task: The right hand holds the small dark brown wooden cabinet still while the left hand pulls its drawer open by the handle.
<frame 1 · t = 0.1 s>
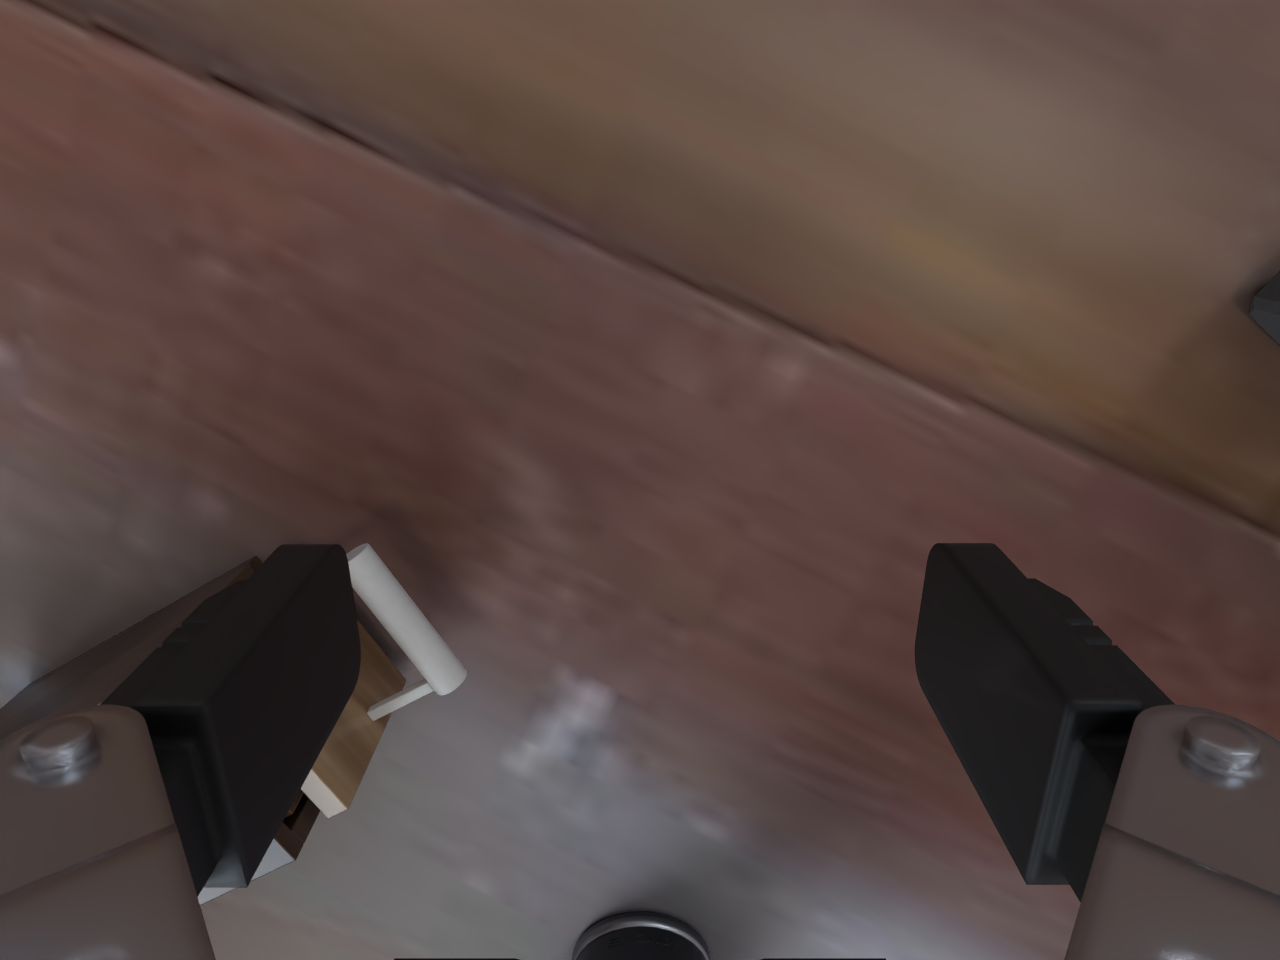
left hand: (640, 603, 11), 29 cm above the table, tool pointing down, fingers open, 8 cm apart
cabinet: (202, 691, 47), on the table
drawer: (242, 710, 40), point 6 cm above the table, slide at 1.8 cm
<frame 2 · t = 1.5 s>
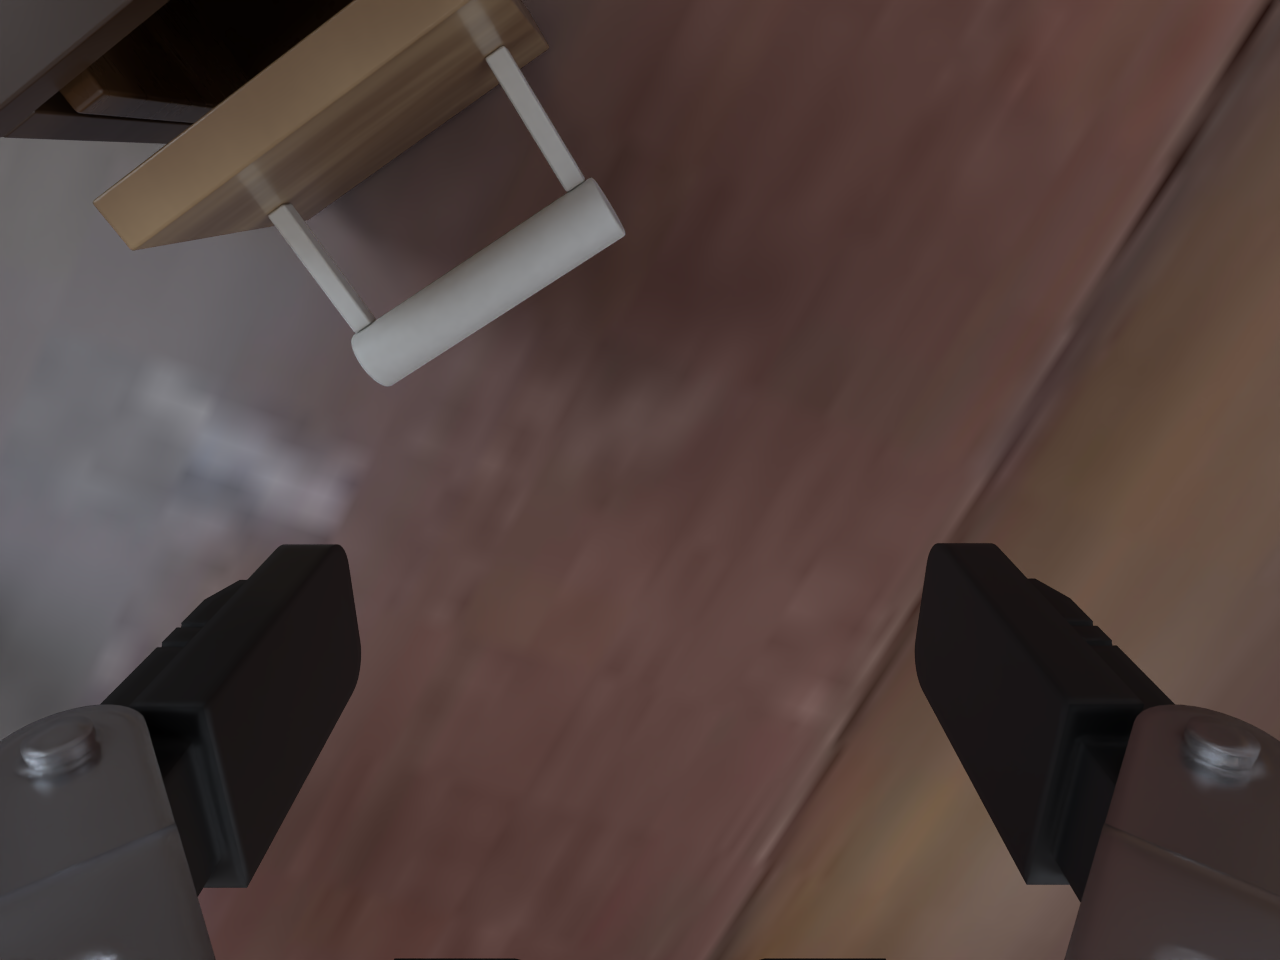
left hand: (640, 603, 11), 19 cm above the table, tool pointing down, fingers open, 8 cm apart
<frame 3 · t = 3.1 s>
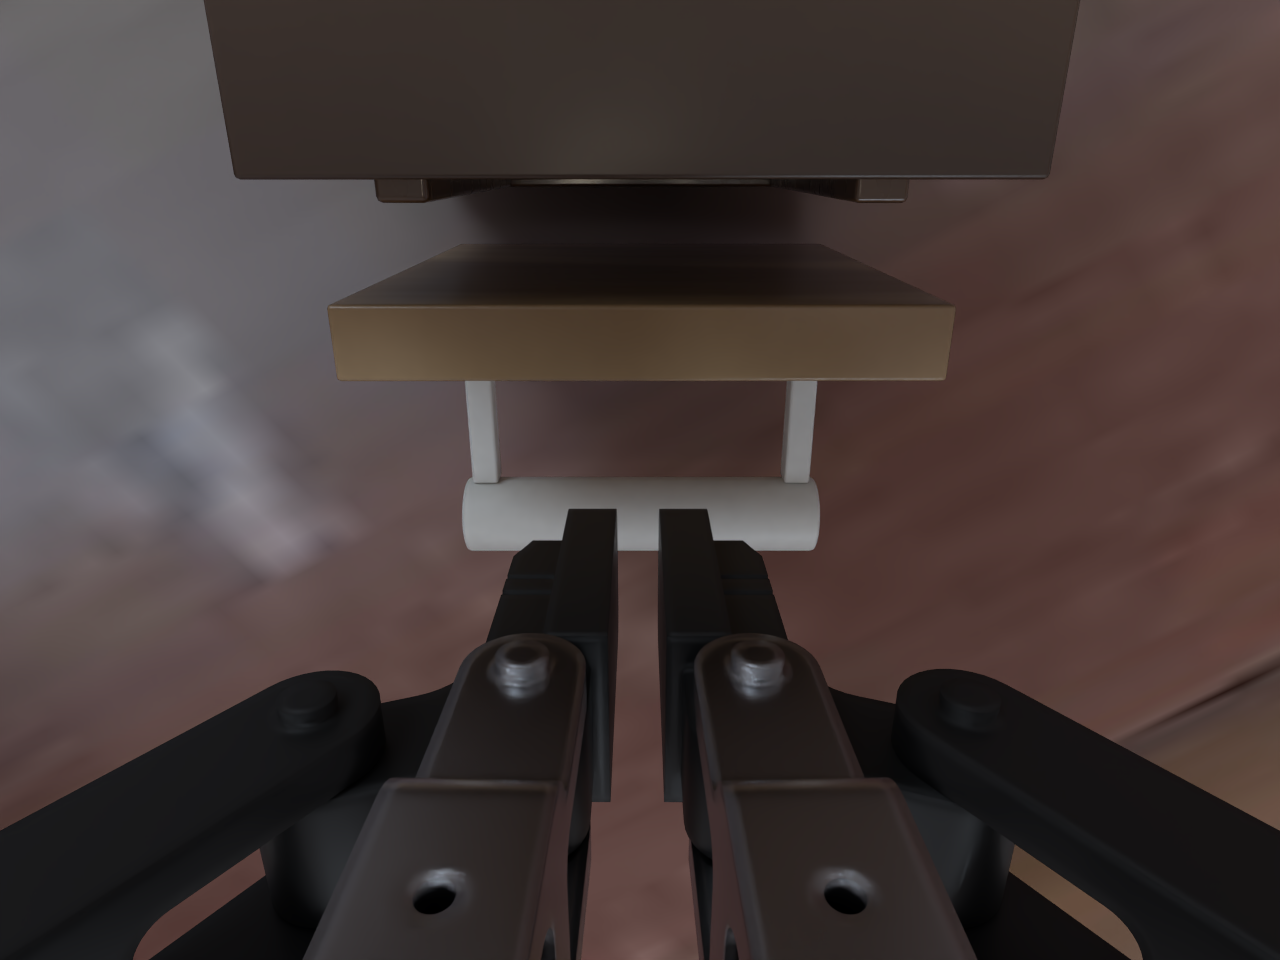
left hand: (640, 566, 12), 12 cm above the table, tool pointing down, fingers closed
drawer: (641, 59, 15), point 6 cm above the table, slide at 1.8 cm
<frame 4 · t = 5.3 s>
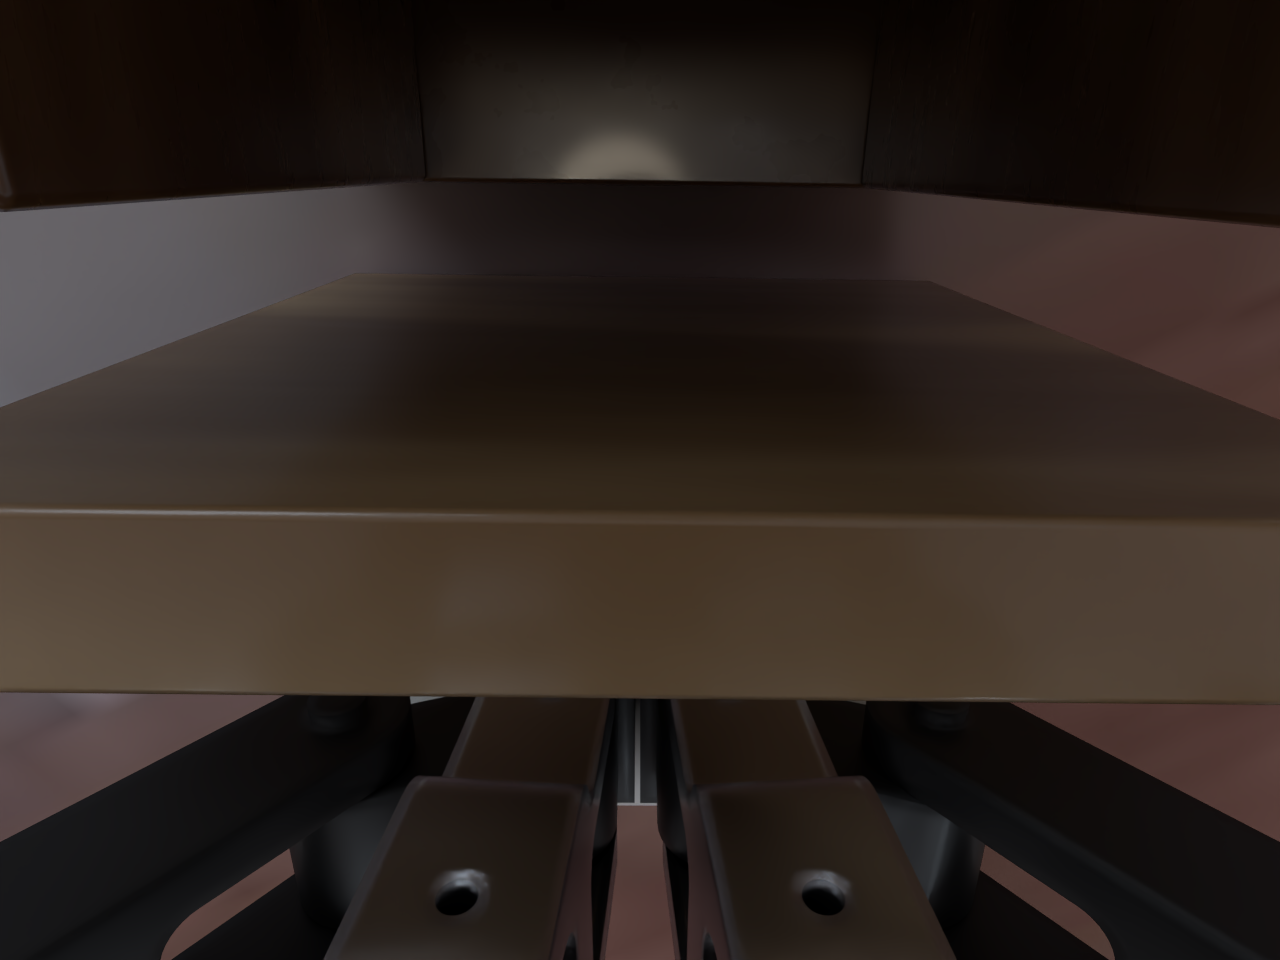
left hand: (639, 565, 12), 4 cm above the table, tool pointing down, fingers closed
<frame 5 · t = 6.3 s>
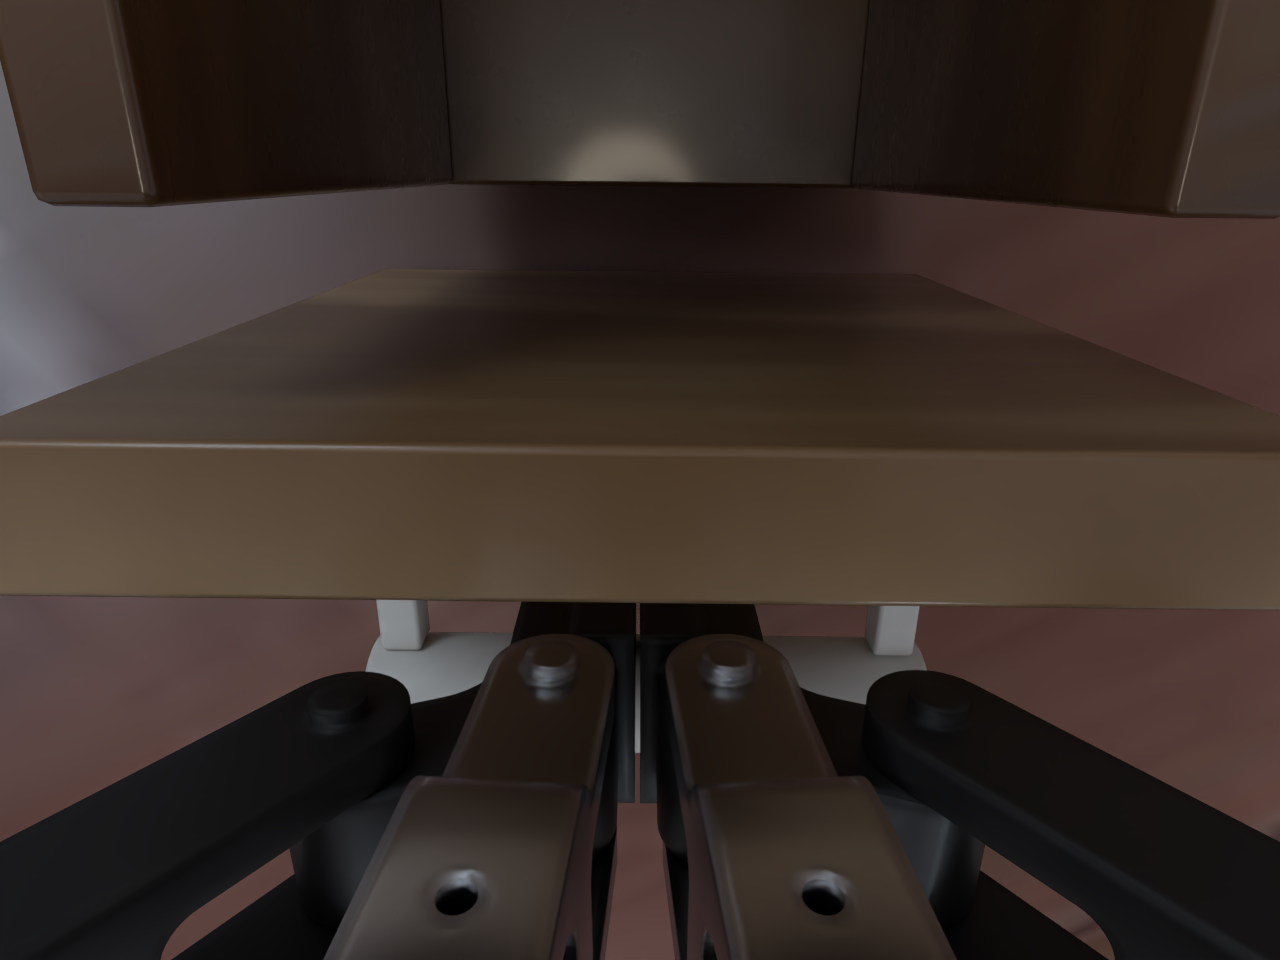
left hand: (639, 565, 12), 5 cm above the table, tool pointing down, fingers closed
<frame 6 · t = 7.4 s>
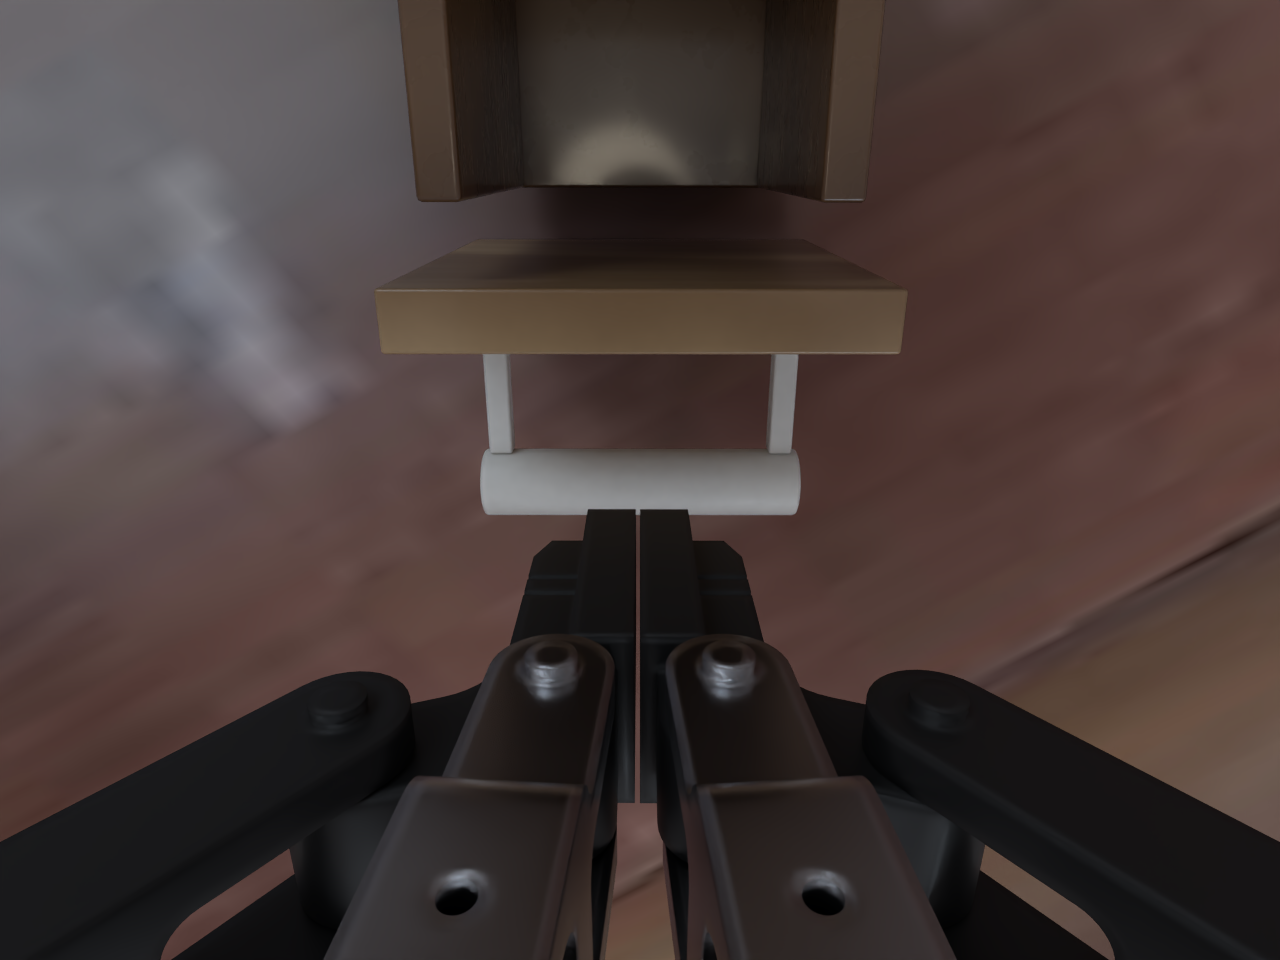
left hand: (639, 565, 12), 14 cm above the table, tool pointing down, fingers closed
drawer: (640, 76, 17), point 6 cm above the table, slide at 6.1 cm
when the right hand's fingers open (7 cm above the table, at t = 7.9 s): cabinet stays where it is, on the table.
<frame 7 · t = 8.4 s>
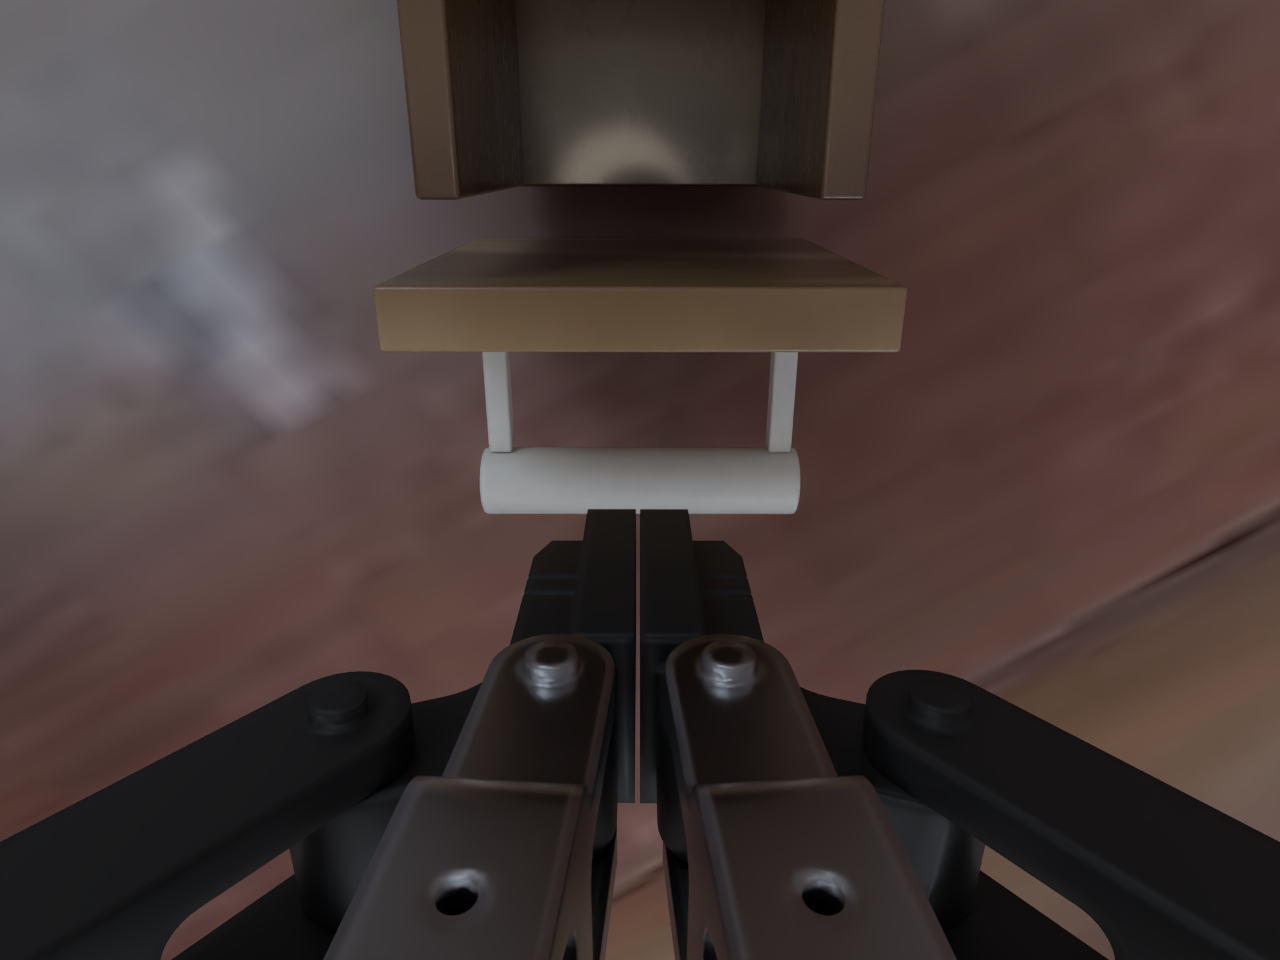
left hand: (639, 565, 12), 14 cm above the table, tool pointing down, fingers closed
drawer: (640, 74, 17), point 6 cm above the table, slide at 6.0 cm
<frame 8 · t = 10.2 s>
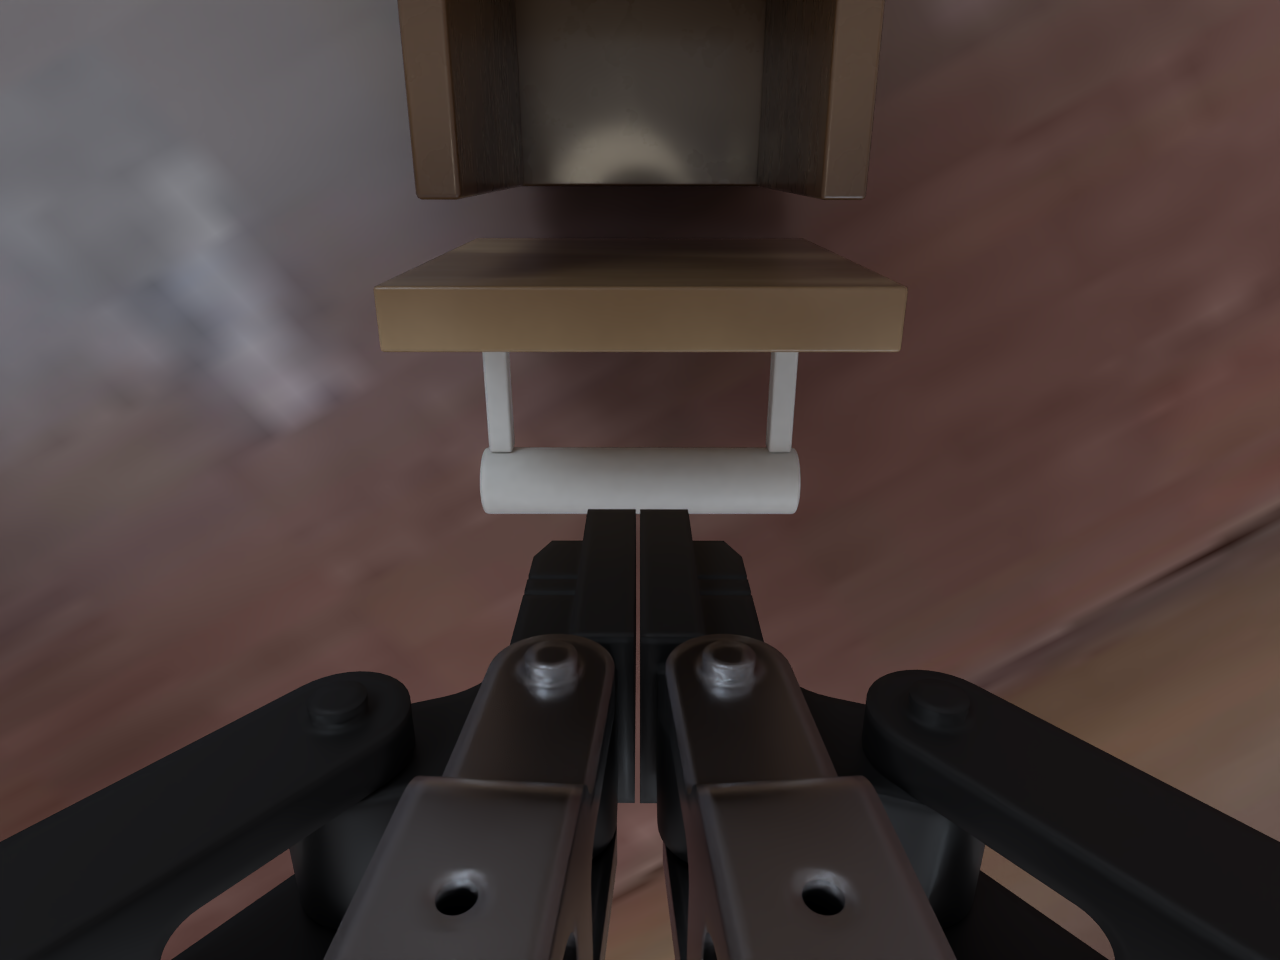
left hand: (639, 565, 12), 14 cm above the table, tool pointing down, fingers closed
drawer: (640, 74, 17), point 6 cm above the table, slide at 6.0 cm
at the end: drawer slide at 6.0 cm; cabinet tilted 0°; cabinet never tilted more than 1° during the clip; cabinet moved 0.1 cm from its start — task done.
